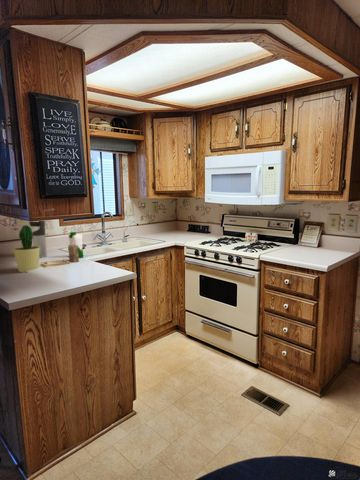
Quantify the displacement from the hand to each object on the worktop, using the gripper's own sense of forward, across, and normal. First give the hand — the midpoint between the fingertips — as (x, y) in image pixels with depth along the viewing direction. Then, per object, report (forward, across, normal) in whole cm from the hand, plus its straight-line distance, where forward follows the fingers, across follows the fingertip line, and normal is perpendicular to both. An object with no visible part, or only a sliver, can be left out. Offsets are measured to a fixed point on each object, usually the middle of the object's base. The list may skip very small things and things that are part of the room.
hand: (55, 212), depth 226 cm
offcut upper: (+35, -7, -11) cm, 37 cm away
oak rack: (+36, -7, -14) cm, 39 cm away
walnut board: (+36, +6, -12) cm, 38 cm away
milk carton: (+36, +15, +4) cm, 39 cm away
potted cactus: (+36, -25, -15) cm, 46 cm away
